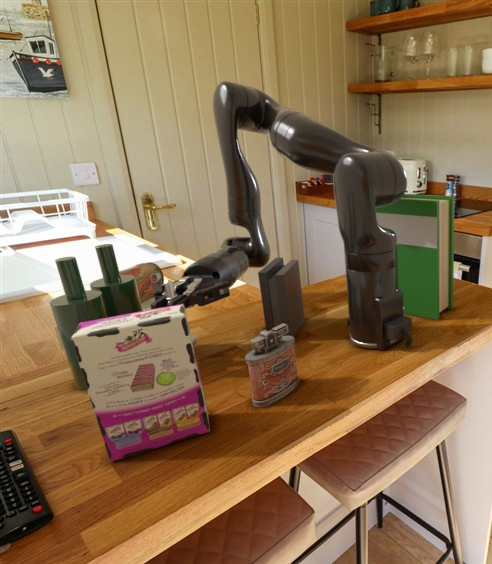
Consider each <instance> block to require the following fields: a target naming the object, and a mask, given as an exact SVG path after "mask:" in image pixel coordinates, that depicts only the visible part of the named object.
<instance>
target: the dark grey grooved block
mask: <svg viewBox="0 0 492 564" xmlns="http://www.w3.org/2000/svg"><path fill="white" fill-rule="evenodd" d="M257 275H258V283H259V290H260V296H261V303H262V310H263V318H264V324H265V330H266V331H270V330H272V328H274V327H277V326H279V325H281V324H286V325H288V331H289V332H288V333H286V334H284V335H282V336H292V337H294V338H295V336H296V335H297V334H298V332H299V330H300V328H301V327H302V325H303V323H304V322H305V320H306V318H305V309H304V301H303V292H302V282H301V272H300V263H299V259H290V260H289V261H288V262H287V263H286V264H285V263H284V257H275V258H274V259H272V260H271V261H269V262H268V263H267V265H266V266H264V267H262V269H261V270H259V271H258V272H257Z"/></svg>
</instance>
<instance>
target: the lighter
mask: <svg viewBox="0 0 492 564" xmlns="http://www.w3.org/2000/svg"><path fill="white" fill-rule="evenodd" d="M288 332H289V331H288V325H286V324H281V325H279V326H277V327H274V328H272V330H270V331H266V329H263V330H261V331H259V334H258V336H255V337H254V338H252V339H250V343H251V347H252V350H251V351H249V352H248V353H247V354H245V356H244V359H245V362H246V364H247V368H248V374H249V380H250V387H251V392H252V397H251V401H252V405H253V406H254V407H257V408H264V407H267V406H269V405H271V404H273V403H275V402H278V401H279V400H280V399H282V398H284V397H285V396H286V395H288V394H289V393H291V392H292V391H293V390H295V389H296V387H298V386H299V385H300V382H301V381H300V376H299V375H298V367H297V360H296V350H295V344H296V341H295V339H296V338H295V336H294V337H292V336H282V335H284V334H286V333H288Z"/></svg>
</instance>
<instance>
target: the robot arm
mask: <svg viewBox="0 0 492 564" xmlns="http://www.w3.org/2000/svg"><path fill="white" fill-rule="evenodd" d="M212 111H213V119H214V125H215V131H216V134H217V135H216V136H217V140H218V146H219V151H220V157H221V160H222V165H223V170H224V177H225V183H226V185H225V186H226V203H227V218H228V222H229V224H230V225H232V226H236V227H240V228H243V229H245V230H246V231H247V233H248V234H249V236H230V237H227V238H225V239H223V241H222V243H221V245H220V247H219V249H218V250H216V251H214V252H211V253H209V254H207V255H205V256H203V257H202V258H200V259H198V260H197V261H195V262H193V263H191V264H190V265H188V266H187V267H186V268H185V270H184V272H183V274H182V276H181V278H179V279H177V280H174V281H173V284H174V288H175V292H176V294H177V297H176V298H175V299H173V300H172V301H170V302H169V303H166V302H167V299H166V298H167V295H166V290H165V285H164V284H162V283H161V282H158V283H155V284H154V292H153V293H154V296H153V298H154V301H153V302H152V303H150V310H151V309H157V308H163V307H168V306H174V305H179V304H184V307H185V310H186V309H191V308H194V307H195V306H196V305H197V306H198V307H205V306H207V305H210V304H213V303H216V302H218V301H220V300H224V299H225V298H228V297H231V291H230V288H231V287H233V285H235V283H236V282H237V281H238V280H239V279H240V278H242V277H243V276H244V275H245V274H246V273H247V271H248V270H249V269H251V268H252V269H261V268H262V269H263V268H264V267H265V266H267V265H268V264H269V263H270V260H271V248H270V244H269V240H268V238H267V235H266V231H265V229H264V225H263V219H262V212H261V211H262V207H261V206H262V205H261V203H262V201H261V191H260V186H259V182H258V179H257V177H256V175H255V174H254V172H253V170H252V168H251V166H250V164H249V163H248V161H247V159H246V157H245V155H244V152H243V150H242V148H241V145H240V140H239V134H238V133H239V132H238V130H240V131H246V132H250V133H257V134H261V135H263V136H266V137H267V138H269V141H270V144H271V146H272V148H273V149H274V150H275V152H276V153H277V154H279V155H280V156H281V157H282V158H284V159H285V160H287V161H289V162H290V163H292V164H293V165H295V166H297V167H299V168H301V169H303V170H304V169H305V170H308V171H311V172H315V173H320V174H325V175H328V176H332V178H333V179H332V184H333V185H332V186H333V195H334V201H335V202H334V203H335V210H336V217H337V218H336V219H337V225H338V226H337V227H338V230H339V234H340V236H341V239H342V242H343V251H344V264H345V265H344V266H345V280H346V282H345V283H346V294H347V295H346V296H347V306H348V307H347V309H348V318H347V319H346V327H347V329H348V328H349V340H350V342H351V344H353V346H356V347H358V348H362V349H370V350H379V351H384V350H386V349H388V348H390V347H391V346H394V345H395V344H397V343H399V342H400V341H402V340H404V339H405V337H406V341H405V343H404V346H405V347H406V348H410V346H411V345H412V343H413V335H412V334H411V333H412V332H413V318H412V317H409V316H406V315H405V313H404V311H403V309H404V307H403V291H402V290H399V289H398V257H397V235H396V233H395V231H393V230H392V229H389V228H385V227H382V226H380V225H379V224H378V222H377V218H376V211H375V208H380V207H385V206H388V205H391V204H393V203H395V202H397V201H398V200H399V199H401V198H402V196H403V195H404V194H406V192H407V188H408V176H407V173H406V170H405V168H404V166H403V164H402V162H401V161H399V159H398V158H397V157H395V156H394V155H393V154H392V153H390V152H388V151H385V150H383V149H379V148H376V147H372V146H370V145H367V144H364V143H361V142H359V141H356V140H354V139H351V138H350V137H348V136H346V135H344V134H342V133H341V132H339V131H337V130H335V129H333V128H331V127H330V126H329V125H326V124H324V123H322V122H321V121H319V120H317V119H315V118H313V117H311V116H310V115H307V114H306V113H303V112H301V111H298V110H296V109H293V108H290V107H287V106H284V105H282V104H281V103H280V102H278V101H276V99H274V98H273V97H272V96H270V95H269V94H268V93H266V92H265V91H263V90H261V89H259V88H256V87H252V86H250V85H245V84H241V83H237V82H234V81H229V80H223V81H220V82H219V83H218V84H217V85H216V87H215V88H214V91H213V95H212Z"/></svg>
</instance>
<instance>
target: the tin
mask: <svg viewBox="0 0 492 564" xmlns="http://www.w3.org/2000/svg"><path fill="white" fill-rule="evenodd" d="M119 272H120V275H132V276H134V277H135V280H136V284H137V288H138V292H139V296H140V300H141V303H142V302H145V301H146V300H149V299H151V298H154V293H153V292H154V284H155V283H158V282H161V283H162V284H164V283H165V277H164V272H163V271H162V269H161V267H160V266H159V265H158V264H156V263H154V262H144V263H143V262H142V263H138V264H135V265H133V266H130V267H127V268H125V269H123V270H119Z"/></svg>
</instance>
